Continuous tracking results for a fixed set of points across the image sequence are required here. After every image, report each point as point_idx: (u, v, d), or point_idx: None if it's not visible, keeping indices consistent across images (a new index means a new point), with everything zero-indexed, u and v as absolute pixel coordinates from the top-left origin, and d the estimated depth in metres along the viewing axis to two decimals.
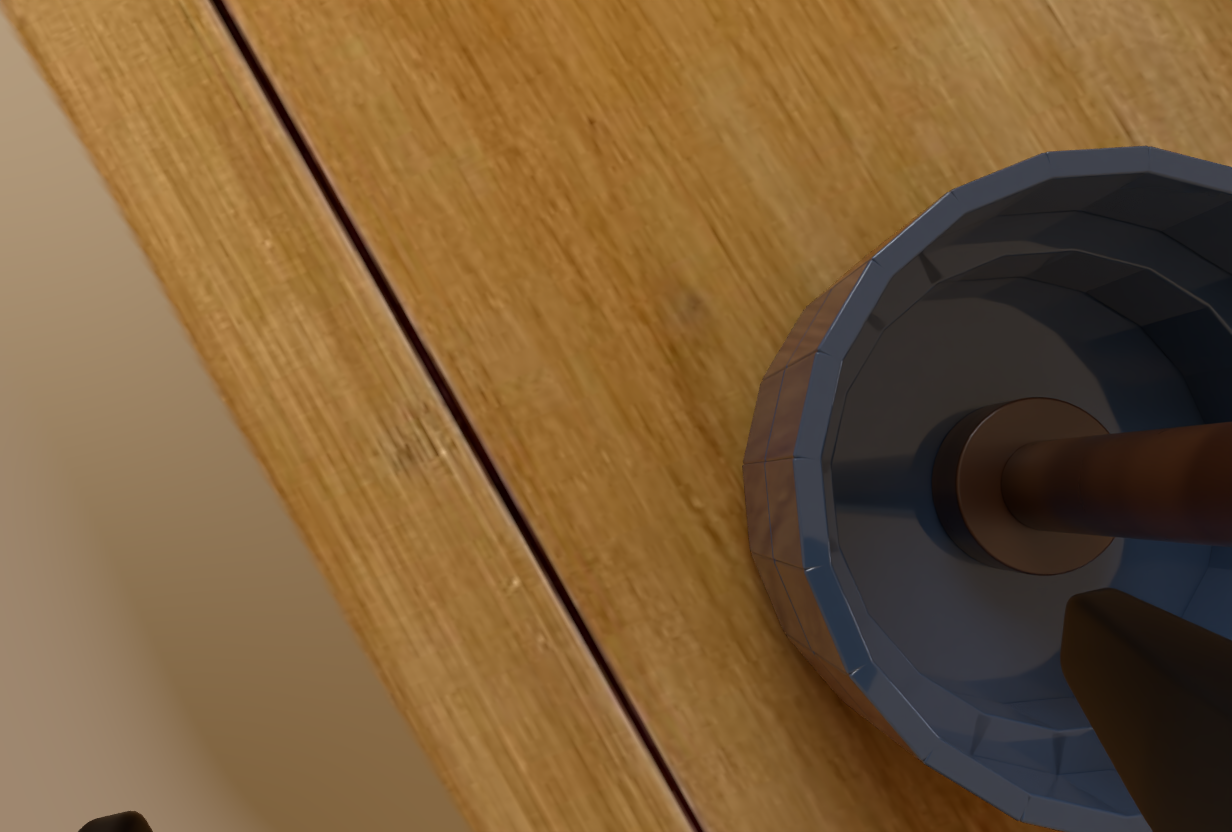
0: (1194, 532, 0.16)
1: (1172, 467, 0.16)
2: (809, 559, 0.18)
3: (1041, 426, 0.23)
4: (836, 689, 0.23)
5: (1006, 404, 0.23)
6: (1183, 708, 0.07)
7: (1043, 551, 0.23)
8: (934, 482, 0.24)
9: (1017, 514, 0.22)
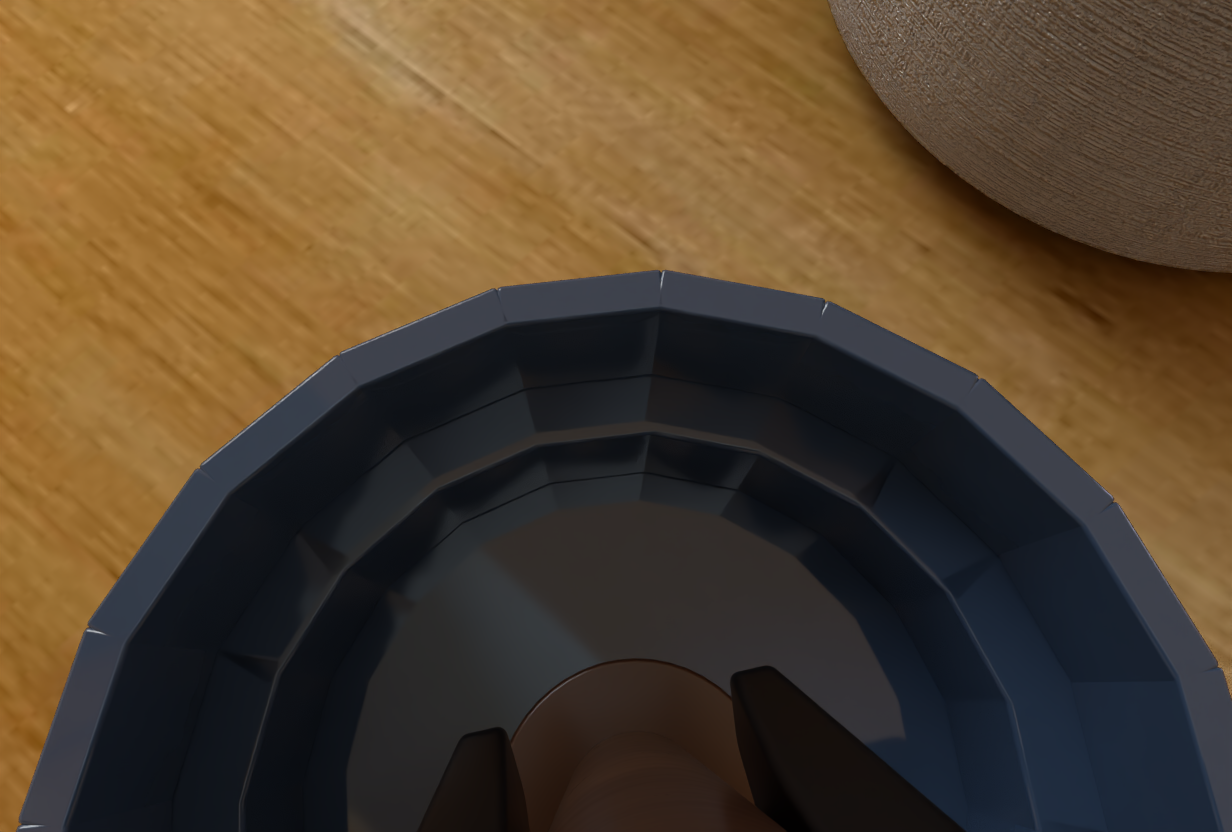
0: None
1: None
2: None
3: (603, 713, 0.14)
4: None
5: (542, 698, 0.15)
6: (782, 805, 0.07)
7: None
8: None
9: None
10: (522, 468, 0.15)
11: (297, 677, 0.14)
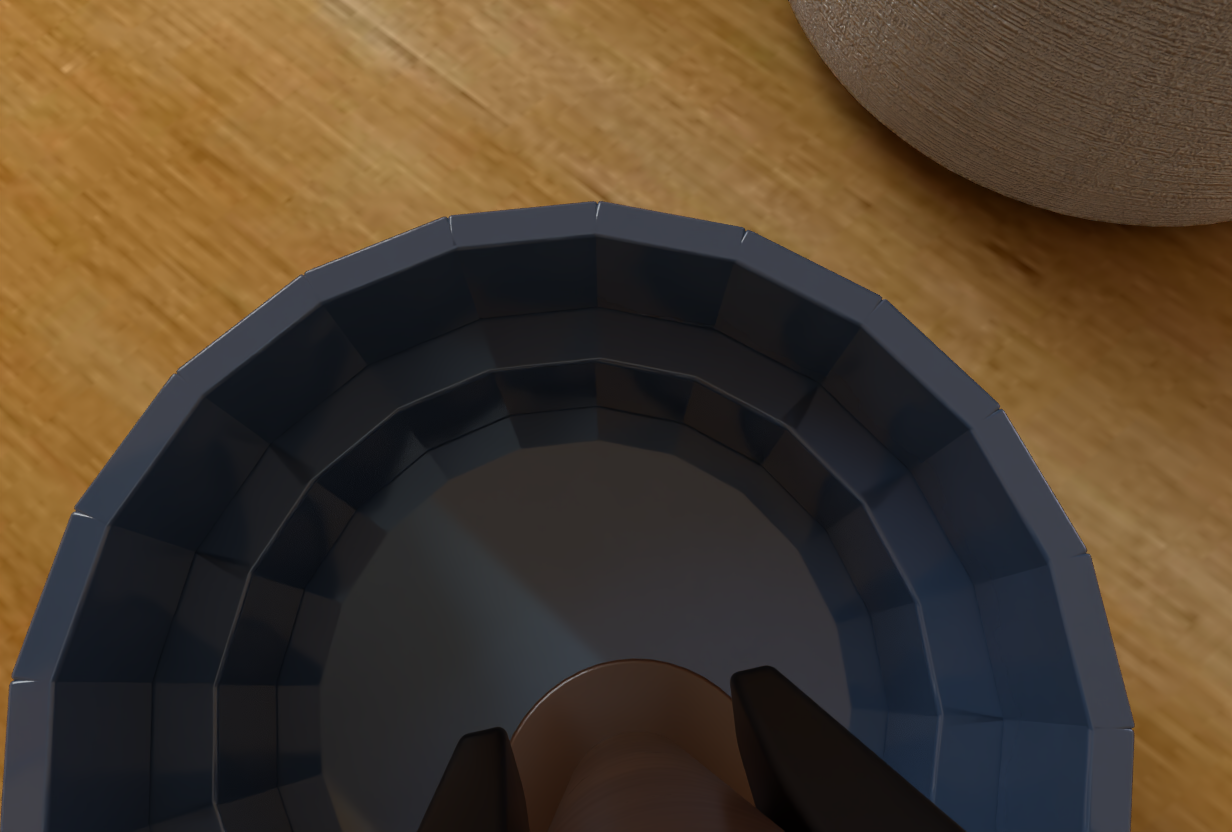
0: None
1: None
2: None
3: (603, 713, 0.14)
4: None
5: (541, 698, 0.15)
6: (782, 804, 0.07)
7: None
8: None
9: None
10: (479, 394, 0.17)
11: (269, 580, 0.16)
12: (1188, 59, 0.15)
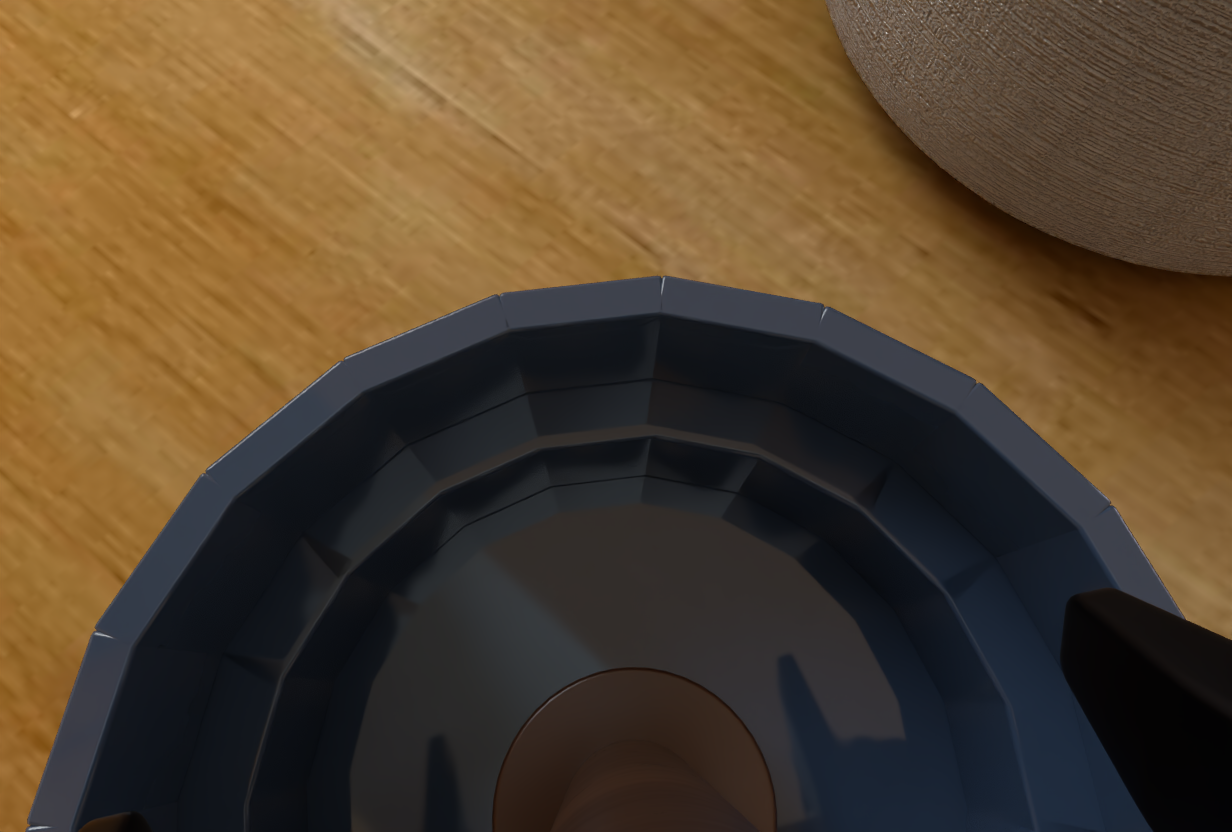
0: None
1: None
2: None
3: (601, 722, 0.15)
4: None
5: (540, 707, 0.15)
6: (1182, 708, 0.07)
7: None
8: None
9: None
10: (524, 471, 0.15)
11: (301, 679, 0.14)
12: None
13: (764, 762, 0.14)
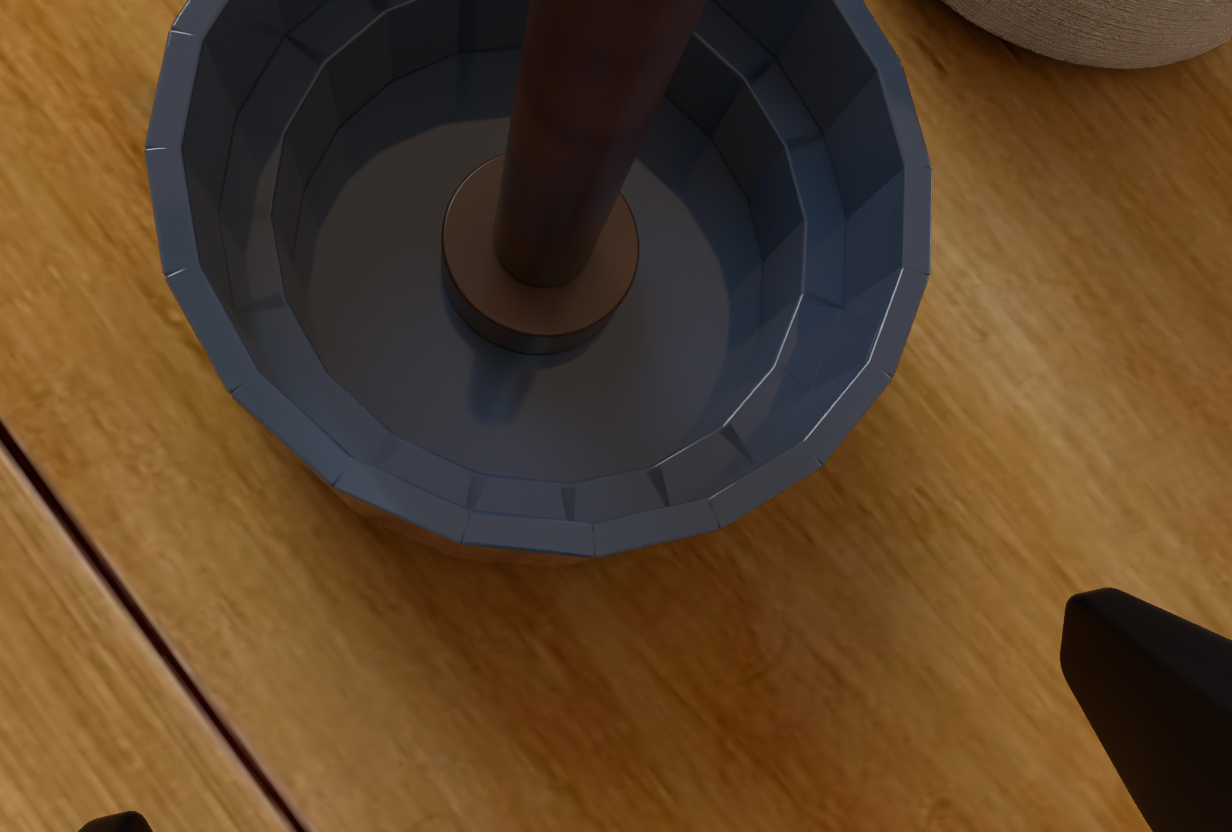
0: (552, 139, 0.14)
1: None
2: (171, 263, 0.15)
3: None
4: (330, 489, 0.19)
5: (493, 158, 0.21)
6: (1183, 708, 0.07)
7: (549, 308, 0.20)
8: (441, 263, 0.21)
9: (509, 267, 0.20)
10: (519, 0, 0.21)
11: (330, 84, 0.20)
12: None
13: (637, 233, 0.21)
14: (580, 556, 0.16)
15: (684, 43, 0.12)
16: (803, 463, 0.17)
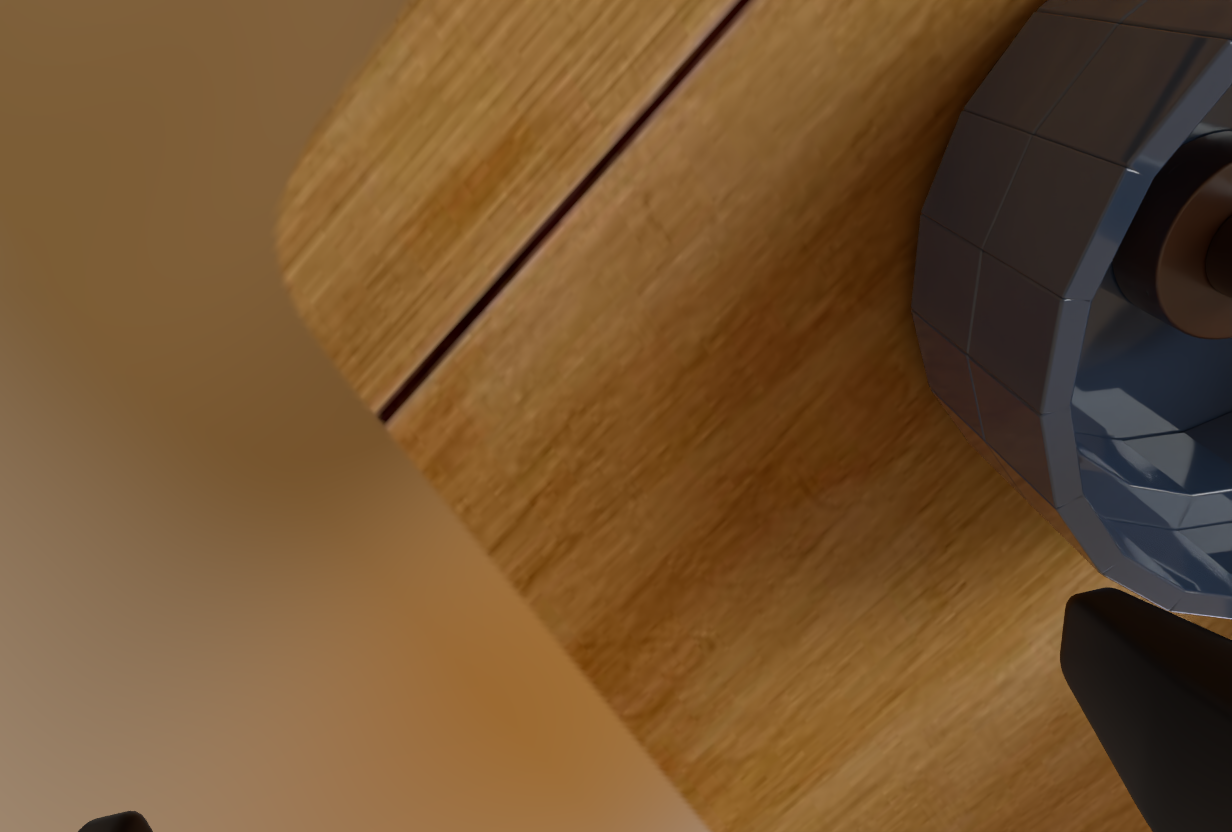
0: None
1: None
2: None
3: None
4: (1009, 87, 0.18)
5: None
6: (1183, 708, 0.07)
7: (1182, 269, 0.20)
8: (1214, 136, 0.20)
9: None
10: None
11: None
12: None
13: None
14: (1041, 402, 0.17)
15: None
16: (1106, 560, 0.19)
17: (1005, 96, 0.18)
